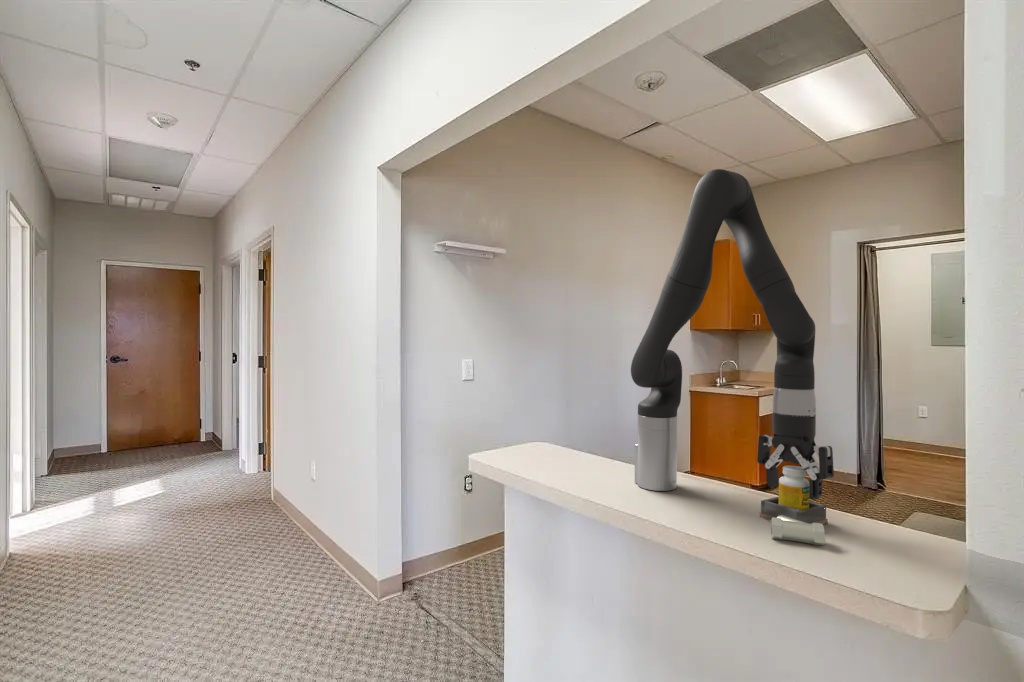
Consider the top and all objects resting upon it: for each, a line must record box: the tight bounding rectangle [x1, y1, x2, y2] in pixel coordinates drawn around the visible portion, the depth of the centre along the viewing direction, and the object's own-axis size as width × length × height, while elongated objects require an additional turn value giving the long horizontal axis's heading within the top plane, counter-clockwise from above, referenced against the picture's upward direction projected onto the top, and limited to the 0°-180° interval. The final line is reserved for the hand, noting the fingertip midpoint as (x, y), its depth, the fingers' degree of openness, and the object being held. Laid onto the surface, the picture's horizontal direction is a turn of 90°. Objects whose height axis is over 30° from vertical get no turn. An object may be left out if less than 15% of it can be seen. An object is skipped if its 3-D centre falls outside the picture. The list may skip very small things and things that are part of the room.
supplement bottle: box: [778, 465, 810, 511], centre depth 102 cm, size 5×5×10 cm
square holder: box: [758, 496, 829, 525], centre depth 102 cm, size 9×9×3 cm
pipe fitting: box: [770, 515, 826, 547], centre depth 93 cm, size 8×4×7 cm
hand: (793, 492), depth 102 cm, fingers open, 8 cm apart
